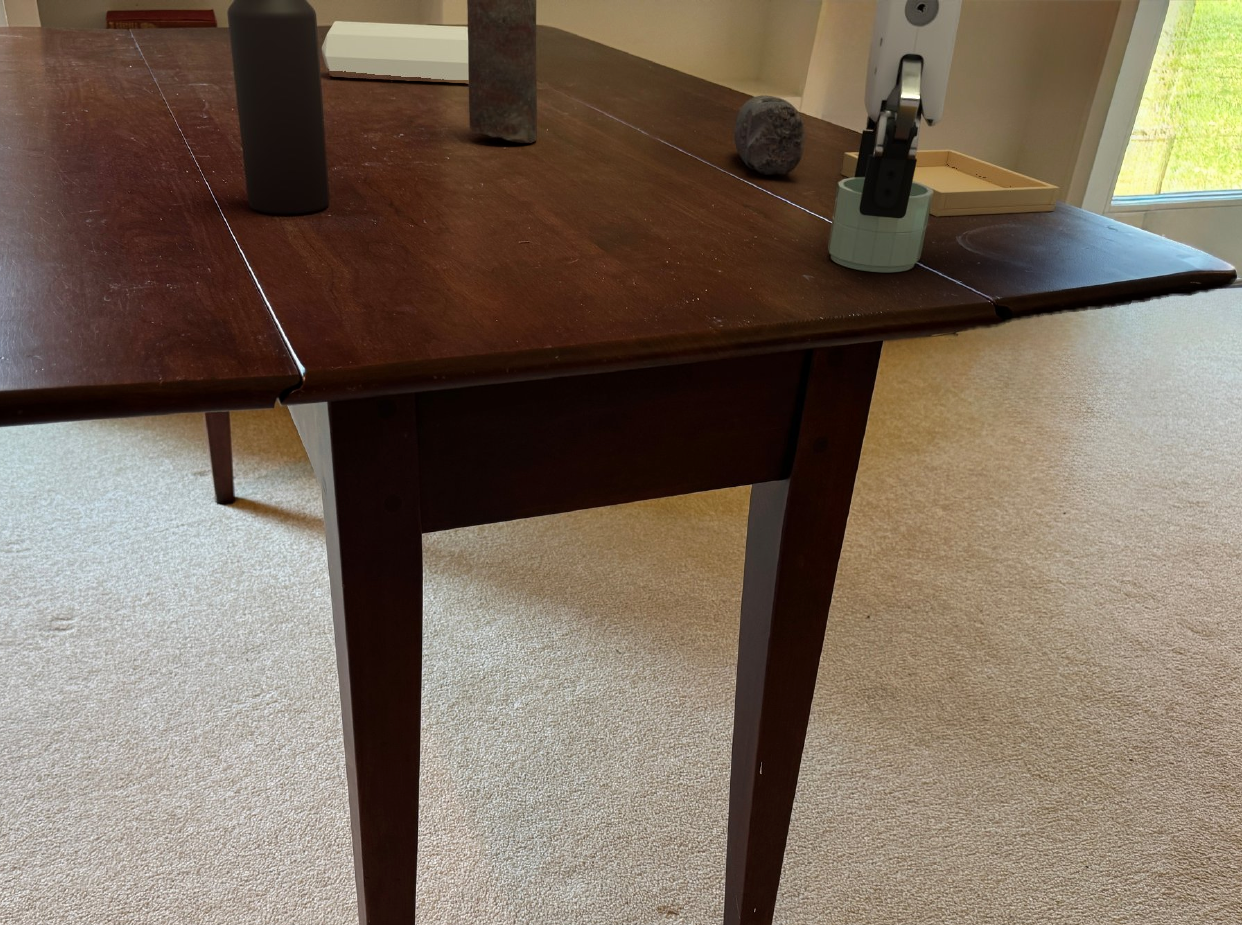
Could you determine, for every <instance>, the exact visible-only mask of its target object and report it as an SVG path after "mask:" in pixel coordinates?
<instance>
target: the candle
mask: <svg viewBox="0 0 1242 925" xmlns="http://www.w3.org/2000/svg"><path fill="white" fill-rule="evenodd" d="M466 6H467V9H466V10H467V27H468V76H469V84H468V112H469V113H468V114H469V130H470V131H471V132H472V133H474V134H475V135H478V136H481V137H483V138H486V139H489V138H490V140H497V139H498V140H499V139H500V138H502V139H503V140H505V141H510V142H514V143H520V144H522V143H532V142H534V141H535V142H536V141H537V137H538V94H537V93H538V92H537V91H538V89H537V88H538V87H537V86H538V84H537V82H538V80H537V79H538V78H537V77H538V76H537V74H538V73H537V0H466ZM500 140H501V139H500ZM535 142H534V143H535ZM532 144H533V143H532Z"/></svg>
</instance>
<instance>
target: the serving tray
mask: <svg viewBox="0 0 1242 925" xmlns="http://www.w3.org/2000/svg"><path fill="white" fill-rule="evenodd" d="M858 154H859V151H858V152H844V154H843V161H842V167H841V175H842V176H844V177H847V178H853V177H854V176H855V171H856V165H857V160H858ZM915 158H916V159H917V162H916V167H915V172H914V177H913V182H917V183H921V184H923V185H926V186H928V187H930V188H931V189H932V190H933V197H932V202H931V207H930V212H929V215H932V216H934V217H938V218H939V217H955V216H957V217H959V216H977V215H978V216H979V215H997V214H1020V213H1021V214H1023V213H1041V212H1053V211H1054V210H1055V207H1056V204H1057V200H1058V196H1059V192H1060V186H1056V185H1054V184H1051V183H1048V182H1044V181H1042V180H1039V179H1036V178H1034V177H1031V176H1027V175H1025V174H1022V173H1019V172H1016V171H1013V170H1010V169H1008V168H1005V167H1002V166H999V165H996V164H993V163H990V162H987V161H984V160H982V159H979V158H976V157H974V156H971V155H967V154H964V153H961V152H959V151H956V150H953V149H925V150H924V149H923V150H922V149H921V150H917V153H916V157H915ZM947 164H948V165H949V166H948V165H947ZM952 167H955V168H952ZM956 168H957V169H956ZM976 174H977V175H976ZM979 176H981V177H979ZM983 177H986V178H983ZM1010 186H1011V187H1010Z"/></svg>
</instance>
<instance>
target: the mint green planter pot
mask: <svg viewBox="0 0 1242 925" xmlns="http://www.w3.org/2000/svg"><path fill="white" fill-rule="evenodd" d="M864 180H865V177H853V178H849V177H847V178H843V179H841V180H839V181H838V182H837V186H836V192H835V193H836V194H835V199H834V206H833V211H832V219H831V225H830V231H829V238H828V243H827V244H828V245H827V250H828V253H829V254H830V255H829V256H830V257H829V258H830V259H831V261H833V262H834V263H836V264H837V265H839V266H843V267H846V268H848V269H853V270H857V271H862V272H863V271H864V272H869V273H900V272H906V271H909V270H911V269H913V268H914V267H915V265H916V263H917V262H919V261H920V259H921V256H922V251H923V246H924V241H925V237H926V232H927V226H928V222H929V217H930V213H929V212H930V207H931V202H932V197H933V190H932V189H931V188H930V187H928V186H926V185H923V184H921V183H917V182H912V187H911V191H910V196H909V201H908V206H907V211H906V214H905V216H904V217H903V218H889V217H878V216H867V215H862V214H861V213H860V210H859V207H860V201H861V196H862V190H863V185H864Z"/></svg>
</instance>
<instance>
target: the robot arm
mask: <svg viewBox="0 0 1242 925" xmlns="http://www.w3.org/2000/svg"><path fill="white" fill-rule="evenodd" d="M962 5H963V0H876V7H875V12H874V18H873V24H872V30H871V38H870V44H869V49H868V51H869V52H868V59H867V66H866V75H865V76H866V77H865V86H864V87H865V88H864V100H863V101H864V106H865V110H866V113H867V117H866V124H865V129H862V131H861V132H862V133H861V138H860V144H859V149H858V152H859V154H858V160H857V165H856V171H855V176H854V177H865V180H864V185H863V190H862V196H861V201H860V207H859V210H860V213H861V214H862V215H867V216H878V217H889V218H903V217H904V216H905V214H906V211H907V206H908V201H909V196H910V191H911V187H912V182H913V177H914V172H915V167H916V162H917V159H916V158H915V157H916V153H917V151H918V145H919V138H920V131H921V130H920V129H921V121H922V117H923V119H924V121H925V122H926V125H927V126H928V127H933V128H934V127H935V126H937V125H938V124H939V123H940V122H941V121H942V117H943V113H944V112H943V111H944V106H945V100H946V94H947V89H948V84H949V78H950V73H951V66H952V61H953V56H954V50H955V47H956V46H955V45H956V40H957V34H958V29H959V24H960V18H961V11H962Z"/></svg>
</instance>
